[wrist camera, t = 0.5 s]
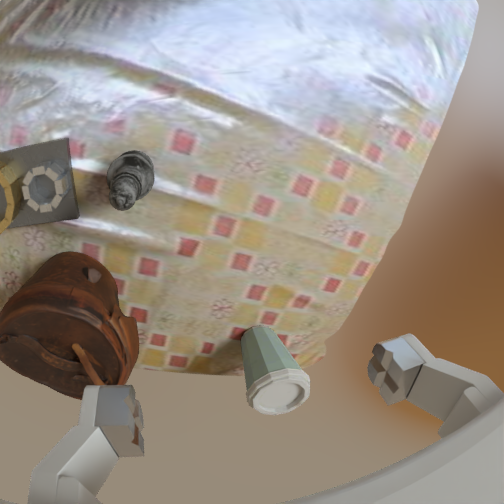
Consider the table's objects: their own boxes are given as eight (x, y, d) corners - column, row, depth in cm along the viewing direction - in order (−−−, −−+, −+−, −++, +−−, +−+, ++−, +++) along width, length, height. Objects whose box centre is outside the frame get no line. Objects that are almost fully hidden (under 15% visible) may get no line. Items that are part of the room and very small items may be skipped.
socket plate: (-37, 163, 29) (-49, 170, 26) (68, 137, 33) (59, 142, 30) (-21, 230, 35) (-31, 240, 32) (79, 215, 39) (73, 226, 36)
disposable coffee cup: (218, 344, 57) (234, 411, 44) (256, 305, 54) (283, 373, 41) (259, 361, 62) (280, 422, 49) (296, 327, 59) (326, 387, 46)
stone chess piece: (125, 199, 39) (110, 241, 29) (104, 162, 36) (79, 193, 26) (163, 178, 39) (160, 215, 29) (143, 140, 36) (131, 162, 26)
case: (145, 331, 51) (144, 419, 36) (40, 325, 46) (14, 406, 30) (141, 237, 43) (128, 321, 28) (18, 234, 37) (-36, 308, 22)
